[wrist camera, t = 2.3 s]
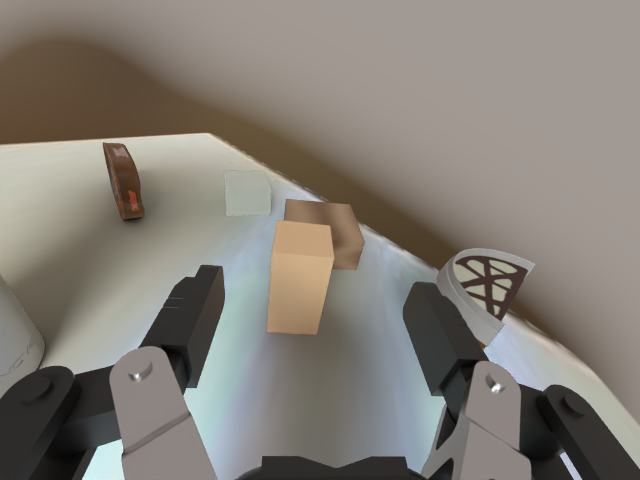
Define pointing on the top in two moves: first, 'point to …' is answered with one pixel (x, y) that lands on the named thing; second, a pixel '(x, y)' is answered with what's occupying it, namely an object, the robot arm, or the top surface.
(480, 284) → the food container
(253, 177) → the grey block
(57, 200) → the top surface
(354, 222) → the walnut block
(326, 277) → the ochre pillar
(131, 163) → the tin
